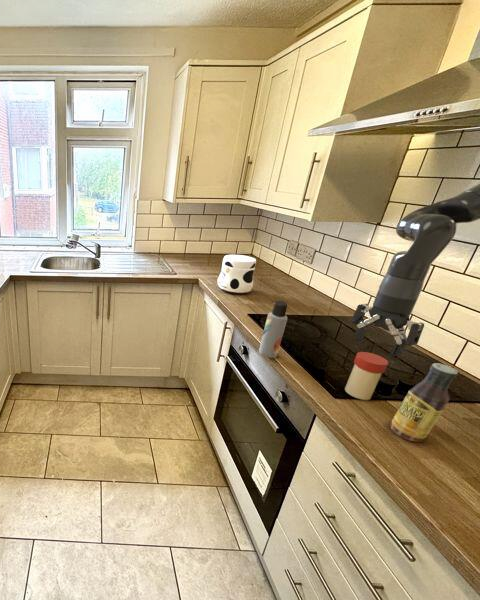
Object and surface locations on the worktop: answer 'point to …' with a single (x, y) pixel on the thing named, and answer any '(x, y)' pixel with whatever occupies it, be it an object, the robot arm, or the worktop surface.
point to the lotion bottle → (274, 330)
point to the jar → (362, 383)
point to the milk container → (237, 274)
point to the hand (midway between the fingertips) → (375, 347)
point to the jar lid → (370, 362)
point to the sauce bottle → (424, 404)
